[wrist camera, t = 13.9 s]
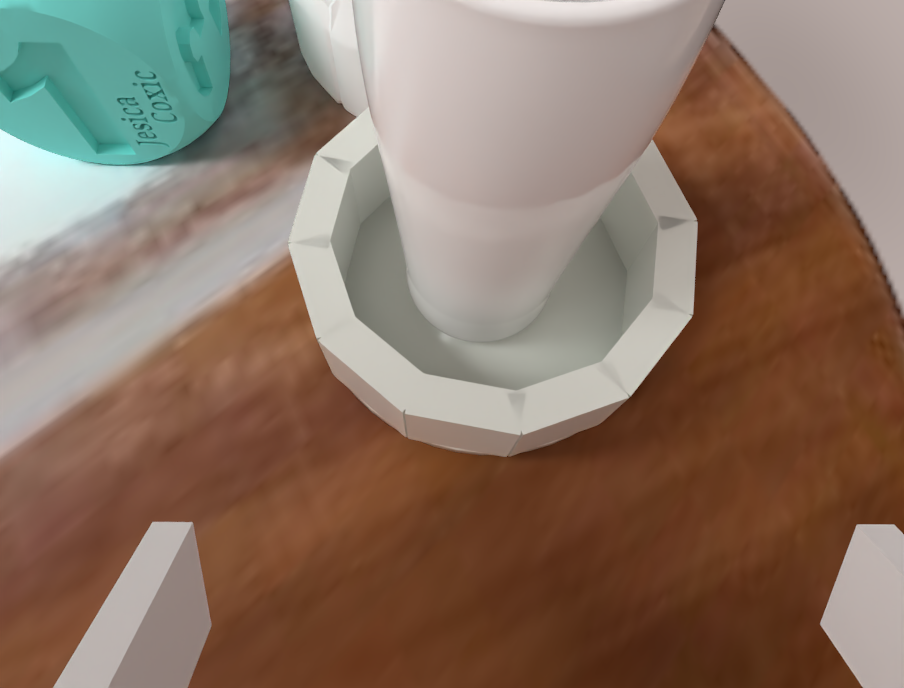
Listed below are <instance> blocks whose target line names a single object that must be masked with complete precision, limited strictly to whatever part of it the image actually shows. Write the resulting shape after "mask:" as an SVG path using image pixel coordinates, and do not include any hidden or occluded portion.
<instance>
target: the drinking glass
mask: <svg viewBox="0 0 904 688" xmlns="http://www.w3.org/2000/svg"><path fill="white" fill-rule="evenodd" d="M351 1H352V9H353V18H354V26H355V34H356V41H357V48H358V54H359V60H360V66H361V72H362V77H363V82H364V87H365V92H366V97H367V101H368V106H369V110H370V115H371V119H372V123H373V127H374V132H375V136H376V140H377V144H378V148H379V152H380V156H381V160H382V164H383V169H384V173H385V177H386V181H387V185H388V189H389V193H390V197H391V201H392V205H393V210H394V214H395V218H396V222H397V227H398V231H399V235H400V240H401V244H402V249H403V253H404V258H405V266H406V278H407V285H408V289H409V292H410V295H411V298H412V300H413V302H414V304H415V306H416V307H417V309H418V311H419V312H420V313H421V315H422V316H423V317H424V318H425V319H426V320H427V321H428V322H429V323H430V324H431V325H432V326H434V327H435V328H436V329H438V330H439V331H441V332H443V333H445V334H447V335H449V336H451V337H454V338H456V339H460V340H464V341H469V342H494V341H498V340H502V339H506V338H508V337H511V336H513V335H515V334H517V333H519V332H521V331H522V330H524V329H525V328H526V327H528V326H529V325H530V324H531V323H532V322H533V321H534V320H535V319H536V318H537V317H538V316H539V314H540V313H541V312H542V310H543V308H544V307H545V305H546V303H547V301H548V299H549V297H550V295H551V292H552V290H553V288H554V286H555V285H556V283H557V281H558V280H559V278H560V277H561V275H562V274H563V272H564V271H565V269H566V268H567V266H568V265H569V263H570V262H571V260H572V259H573V257H574V256H575V254H576V253H577V251H578V250H579V248H580V247H581V245H582V244H583V242H584V241H585V239H586V238H587V236H588V235H589V233H590V232H591V230H592V229H593V227H594V226H595V224H596V223H597V221H598V220H599V219H600V217H601V216H602V214H603V213H604V211H605V210H606V208H607V207H608V205H609V204H610V202H611V201H612V199H613V198H614V196H615V195H616V194H617V192H618V191H619V189H620V188H621V186H622V185H623V183H624V182H625V180H626V179H627V177H628V176H629V174H630V173H631V171H632V170H633V168H634V167H635V165H636V164H637V162H638V161H639V159H640V158H641V156H642V155H643V153H644V152H645V150H646V148H647V147H648V145H649V144H650V142H651V140H652V139H653V137H654V136H655V134H656V132H657V131H658V129H659V127H660V126H661V124H662V123H663V121H664V119H665V117H666V116H667V114H668V112H669V111H670V109H671V107H672V105H673V104H674V102H675V100H676V98H677V96H678V95H679V93H680V91H681V89H682V87H683V85H684V84H685V82H686V80H687V78H688V76H689V74H690V72H691V70H692V68H693V66H694V64H695V62H696V60H697V58H698V56H699V54H700V52H701V50H702V48H703V46H704V44H705V42H706V40H707V38H708V36H709V34H710V32H711V29H712V27H713V25H714V23H715V21H716V19H717V17H718V15H719V12H720V10H721V8H722V6H723V4H724V1H725V0H351Z"/></svg>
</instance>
